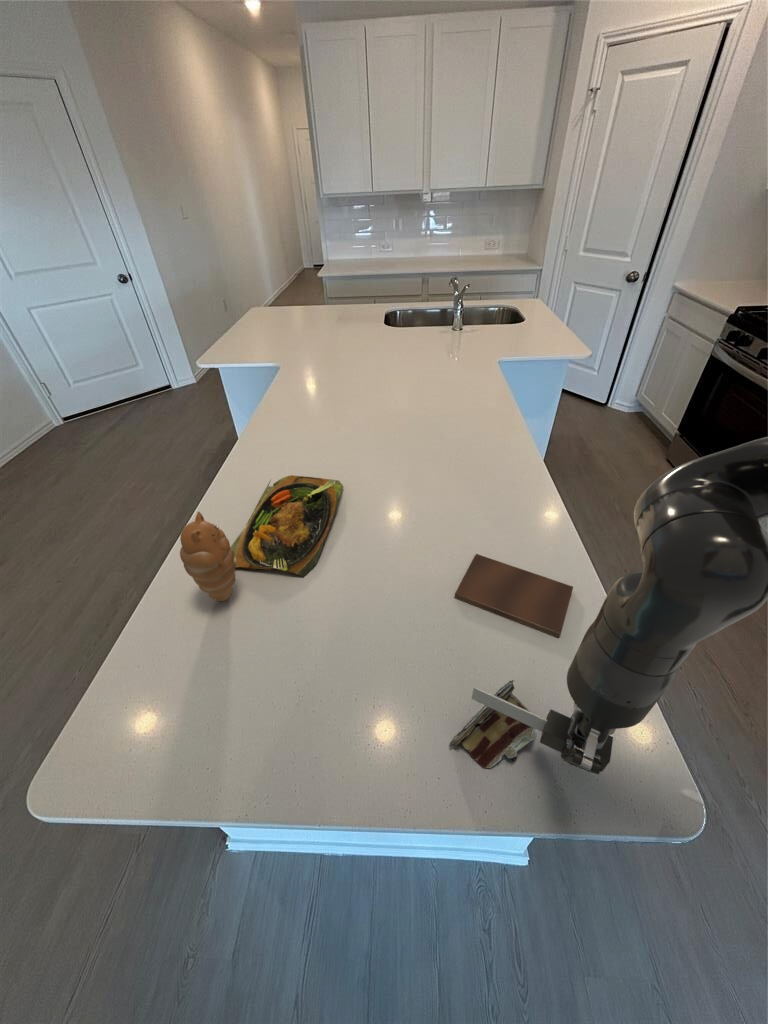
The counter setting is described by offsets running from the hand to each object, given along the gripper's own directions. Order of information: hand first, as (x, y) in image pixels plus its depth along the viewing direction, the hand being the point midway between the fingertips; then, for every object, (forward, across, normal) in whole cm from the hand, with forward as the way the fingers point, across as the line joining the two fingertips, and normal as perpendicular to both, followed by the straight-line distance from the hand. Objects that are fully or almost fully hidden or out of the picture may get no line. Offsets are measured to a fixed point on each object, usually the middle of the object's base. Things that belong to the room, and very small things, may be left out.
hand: (573, 744), depth 52 cm
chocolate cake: (+7, 0, +8) cm, 11 cm away
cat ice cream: (+7, +1, +59) cm, 59 cm away
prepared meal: (+7, +22, +60) cm, 64 cm away
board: (+7, +25, +13) cm, 29 cm away
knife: (0, 0, +5) cm, 5 cm away
